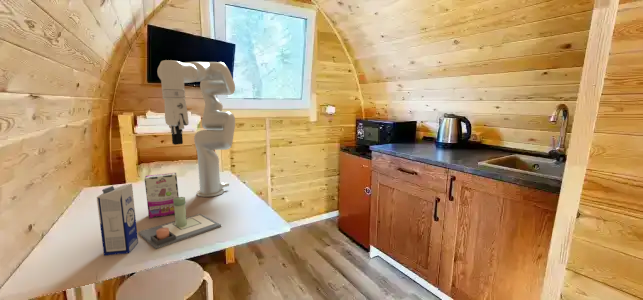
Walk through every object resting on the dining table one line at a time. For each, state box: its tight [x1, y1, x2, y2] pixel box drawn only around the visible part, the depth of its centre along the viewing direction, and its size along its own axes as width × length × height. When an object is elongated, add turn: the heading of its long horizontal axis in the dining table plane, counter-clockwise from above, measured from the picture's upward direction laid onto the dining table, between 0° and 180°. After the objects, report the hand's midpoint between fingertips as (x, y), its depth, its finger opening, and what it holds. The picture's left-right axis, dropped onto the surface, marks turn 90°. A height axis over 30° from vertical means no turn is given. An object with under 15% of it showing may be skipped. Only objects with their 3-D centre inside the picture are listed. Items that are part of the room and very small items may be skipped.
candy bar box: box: [144, 172, 180, 219], centre depth 116 cm, size 11×5×16 cm, turn 117°
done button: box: [156, 228, 170, 240], centre depth 94 cm, size 4×4×3 cm
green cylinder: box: [173, 196, 187, 227], centre depth 104 cm, size 4×4×10 cm
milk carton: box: [96, 183, 139, 256], centre depth 88 cm, size 7×7×20 cm
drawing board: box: [137, 213, 222, 250], centre depth 103 cm, size 22×16×2 cm
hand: (177, 144), depth 111 cm, fingers closed
